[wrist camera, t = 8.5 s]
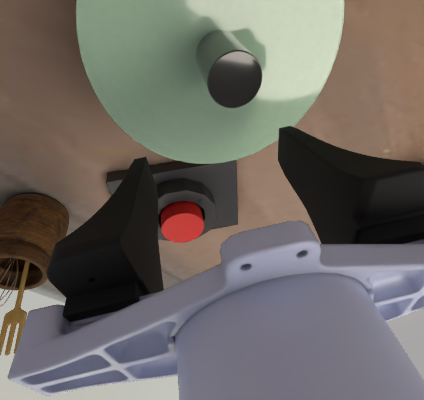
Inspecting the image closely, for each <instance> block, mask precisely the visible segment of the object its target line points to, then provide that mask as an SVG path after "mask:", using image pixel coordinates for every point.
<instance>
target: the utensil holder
mask: <svg viewBox="0 0 424 400" xmlns="http://www.w3.org/2000/svg"><path fill="white" fill-rule="evenodd" d="M68 224H69V217H68V213H67V211H66V210H65V208H64V207H63V206H62V205H61V204H60V203H59V202H57V201H55V200H54V199H52V198H49V197H47V196H44V195H39V194H21V195H17V196H14V197H12V198H10V199H9V200H7V201H6V202H5V203H4V204H3V205H2V207H1V208H0V288H2V289H4V291H5V289H7V290H19V291H18V296H17V301H16V305H15V308H14V309H13V310H11V311H10V312H8V313H6V315H5V317H4V321H3V326H2V330H1V334H0V355H1V352H2V348H3V344H4V339H5V336H6V331H7V328H8V325H9V324H11V327H10V332H9V337H8V342H7V347H6V351H5V355H9V354H10V350H11V346H12V342H13V337H14V333H15V329H16V325H17V323H19V329H18V334H17V339H16V344H15V349H14V354H15V353H16V350H17V347H18V343H19V340H20V337H21V334H22V331H23V328H24V325H25V321H26V316H27V313H26V312H25V311H24V310H22V309H21V308H20V306H21V301H22V297H23V292H24V290H27V289H32V288H35V287H38V286H40V285H42V284H43V283H44V282H45V281H46V280H47V274H46V272H47V269H48V265H49V262H50V258H51V255H52V252H53V249H54V246H55V244H56V243H57V242H59V241H60V240H62V239H63V238H65V237H66V233H67V229H68ZM8 292H9V291H8ZM8 292H7V293H8ZM3 293H4V292H3ZM3 293H2V294H3ZM11 293H12V292H11ZM6 295H7V294H6ZM1 296H2V295H1ZM9 296H10V295H9ZM8 298H9V297H8ZM0 300H1V299H0ZM6 301H7V300H6Z"/></svg>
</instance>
